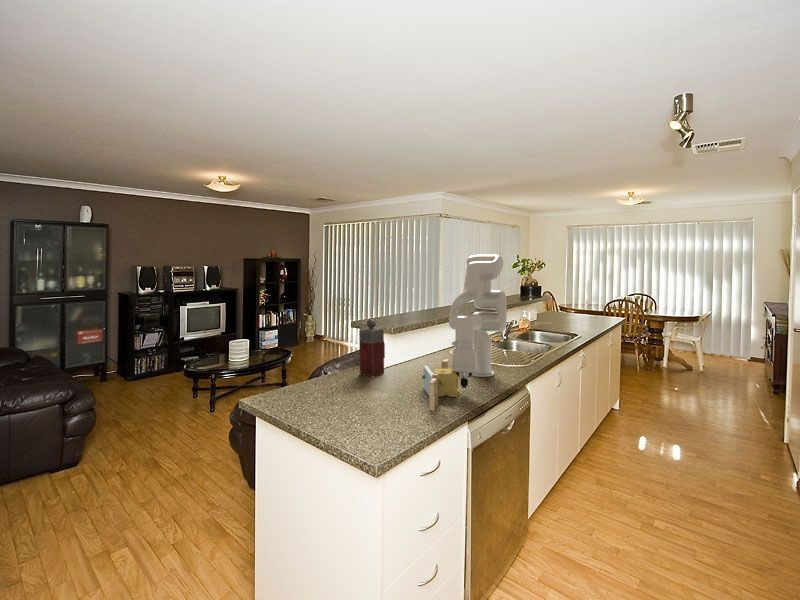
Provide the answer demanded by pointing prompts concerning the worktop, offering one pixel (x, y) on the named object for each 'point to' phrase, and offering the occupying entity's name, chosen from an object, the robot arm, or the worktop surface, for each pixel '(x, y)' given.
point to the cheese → (447, 382)
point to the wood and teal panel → (435, 387)
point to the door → (427, 379)
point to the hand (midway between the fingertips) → (464, 387)
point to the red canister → (371, 349)
